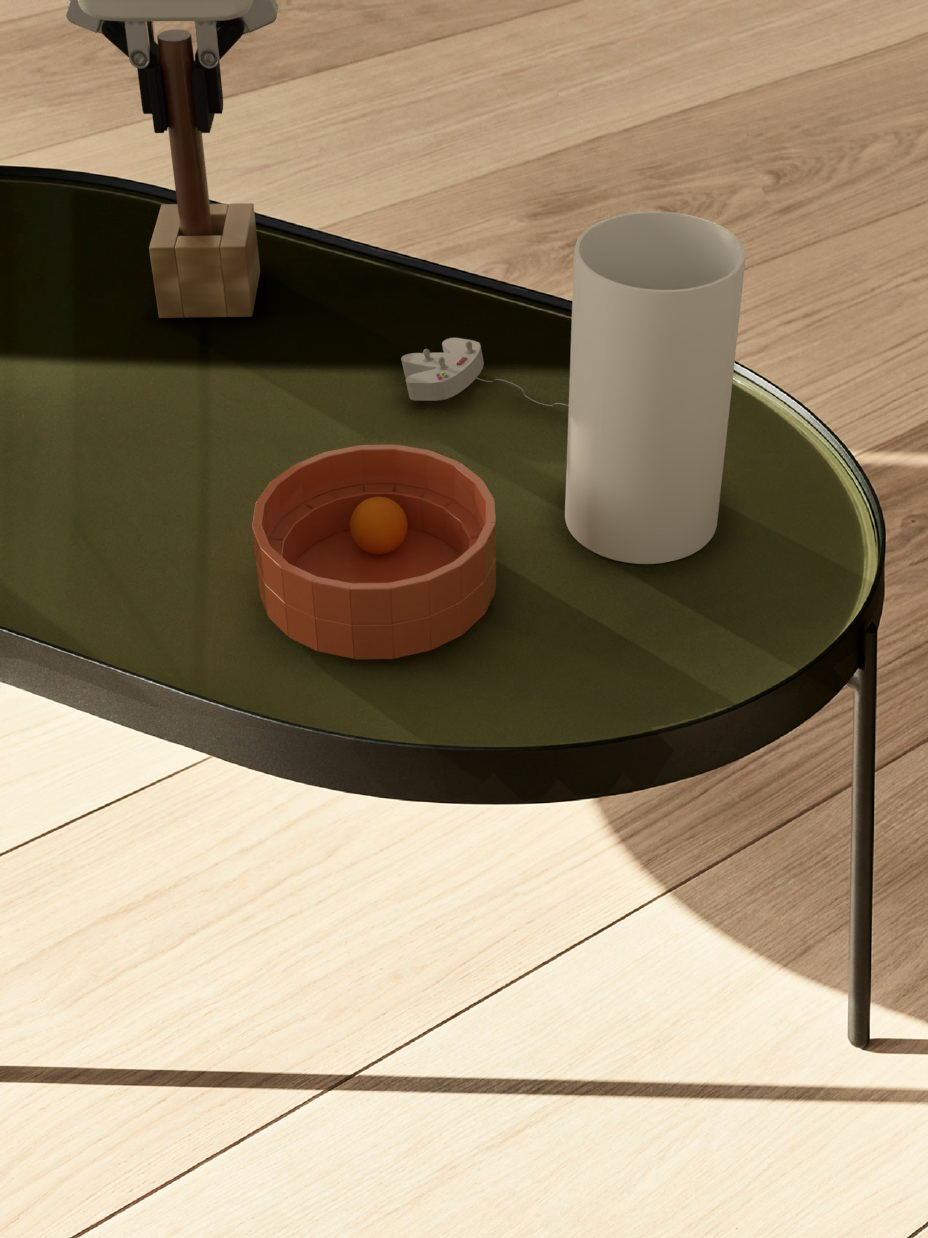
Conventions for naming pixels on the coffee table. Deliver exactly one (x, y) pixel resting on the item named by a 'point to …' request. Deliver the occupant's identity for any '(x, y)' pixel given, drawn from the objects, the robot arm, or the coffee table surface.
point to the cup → (650, 383)
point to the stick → (184, 133)
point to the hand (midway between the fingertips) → (184, 121)
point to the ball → (378, 525)
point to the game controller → (445, 370)
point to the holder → (206, 264)
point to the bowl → (375, 583)
